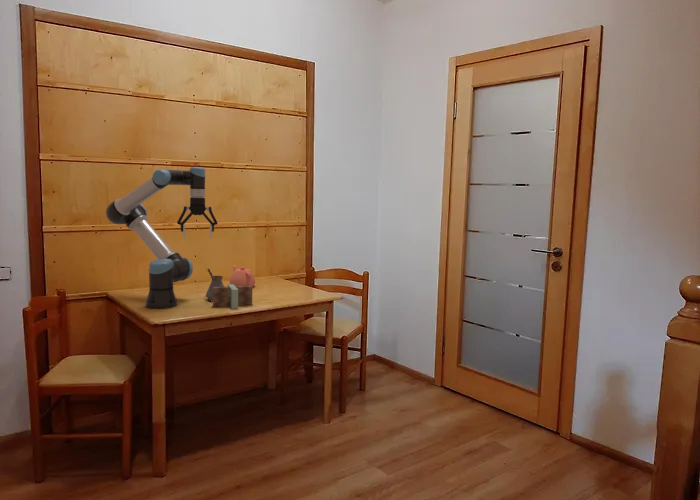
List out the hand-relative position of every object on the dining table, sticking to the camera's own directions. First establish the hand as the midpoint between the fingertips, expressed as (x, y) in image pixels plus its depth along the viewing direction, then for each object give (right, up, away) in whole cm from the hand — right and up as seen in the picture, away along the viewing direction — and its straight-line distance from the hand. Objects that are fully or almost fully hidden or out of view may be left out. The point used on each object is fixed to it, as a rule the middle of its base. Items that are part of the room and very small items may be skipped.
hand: (197, 238), depth 276 cm
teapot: (+12, -29, +52) cm, 61 cm away
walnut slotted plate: (+18, -36, +2) cm, 40 cm away
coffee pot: (+4, -33, +17) cm, 38 cm away
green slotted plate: (+18, -36, +2) cm, 40 cm away
